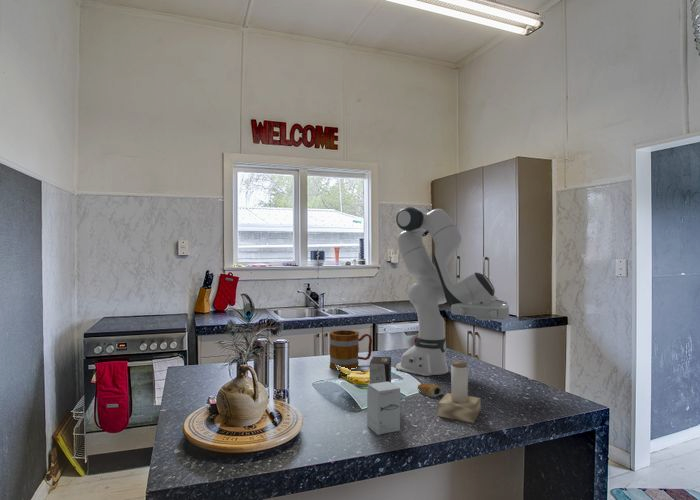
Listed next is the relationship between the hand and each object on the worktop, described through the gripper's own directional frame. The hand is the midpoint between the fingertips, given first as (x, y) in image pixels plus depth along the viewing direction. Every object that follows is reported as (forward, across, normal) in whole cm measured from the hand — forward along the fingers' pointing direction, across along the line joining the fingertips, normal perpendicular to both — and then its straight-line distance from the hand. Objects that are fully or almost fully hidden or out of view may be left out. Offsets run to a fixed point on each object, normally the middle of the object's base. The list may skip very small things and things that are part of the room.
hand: (475, 313), depth 149 cm
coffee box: (+23, -26, +30) cm, 46 cm away
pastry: (+2, -16, +30) cm, 34 cm away
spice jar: (+15, -2, +26) cm, 30 cm away
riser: (+15, -2, +30) cm, 34 cm away
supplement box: (+37, -19, +30) cm, 51 cm away
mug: (-17, -58, +30) cm, 68 cm away
